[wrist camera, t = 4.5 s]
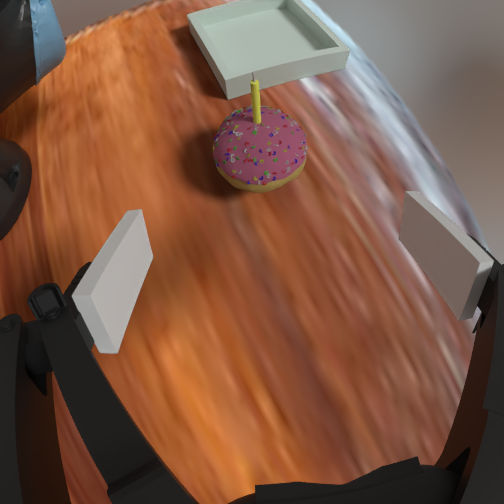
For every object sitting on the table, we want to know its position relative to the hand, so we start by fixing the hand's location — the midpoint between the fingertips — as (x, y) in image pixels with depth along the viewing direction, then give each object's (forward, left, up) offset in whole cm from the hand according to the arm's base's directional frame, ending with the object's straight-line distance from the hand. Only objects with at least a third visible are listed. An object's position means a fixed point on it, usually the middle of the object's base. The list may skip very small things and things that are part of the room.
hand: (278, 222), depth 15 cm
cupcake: (-7, +8, -15) cm, 18 cm away
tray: (-19, +24, -15) cm, 34 cm away
